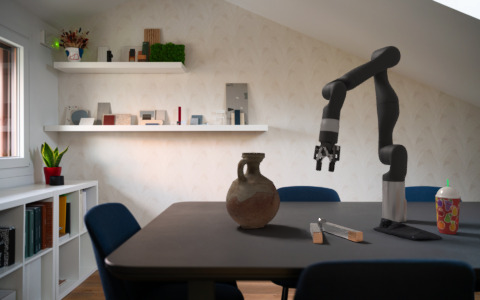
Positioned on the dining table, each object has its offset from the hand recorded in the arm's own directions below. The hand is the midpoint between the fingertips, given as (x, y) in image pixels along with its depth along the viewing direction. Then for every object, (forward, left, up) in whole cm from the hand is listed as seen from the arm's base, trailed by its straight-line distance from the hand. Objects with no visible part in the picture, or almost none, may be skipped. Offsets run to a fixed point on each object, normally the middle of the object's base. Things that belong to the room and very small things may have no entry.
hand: (324, 171), depth 151 cm
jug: (+29, +3, -23) cm, 37 cm away
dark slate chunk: (-29, +8, -23) cm, 38 cm away
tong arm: (-4, +15, -22) cm, 27 cm away
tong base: (+3, +15, -22) cm, 27 cm away
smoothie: (-44, +5, -23) cm, 50 cm away
